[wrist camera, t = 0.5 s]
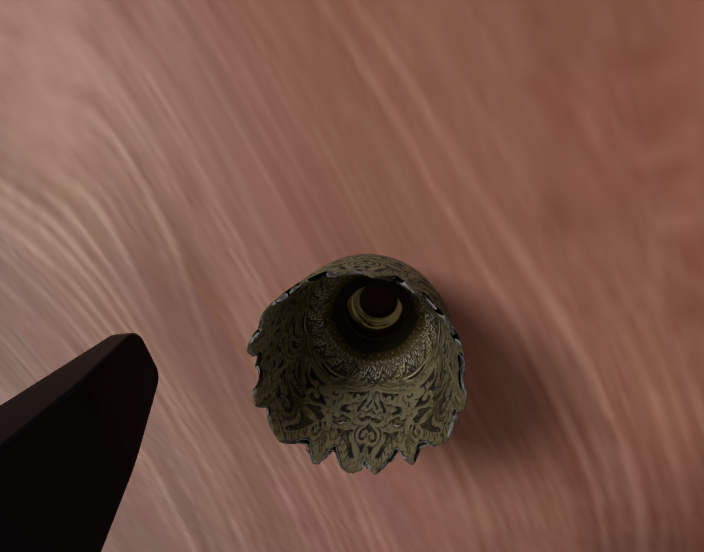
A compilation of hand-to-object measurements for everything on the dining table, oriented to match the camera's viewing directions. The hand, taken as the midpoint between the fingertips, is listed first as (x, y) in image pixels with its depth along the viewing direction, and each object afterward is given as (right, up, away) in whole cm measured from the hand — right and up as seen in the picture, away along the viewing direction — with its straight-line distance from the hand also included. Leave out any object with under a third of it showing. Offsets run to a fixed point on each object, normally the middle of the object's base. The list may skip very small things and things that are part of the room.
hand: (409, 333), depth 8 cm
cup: (0, 0, +17) cm, 17 cm away
